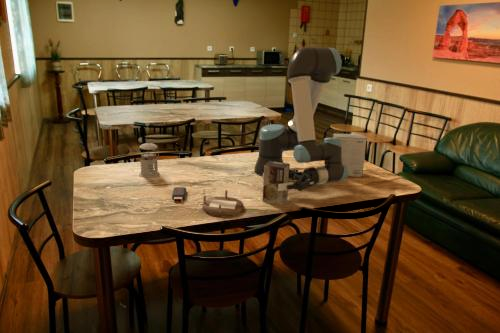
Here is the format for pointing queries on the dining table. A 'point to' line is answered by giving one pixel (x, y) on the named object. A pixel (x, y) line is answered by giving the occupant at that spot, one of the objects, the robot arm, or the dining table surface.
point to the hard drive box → (353, 152)
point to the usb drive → (179, 194)
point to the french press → (149, 160)
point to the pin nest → (222, 206)
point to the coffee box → (275, 182)
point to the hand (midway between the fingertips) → (270, 181)
